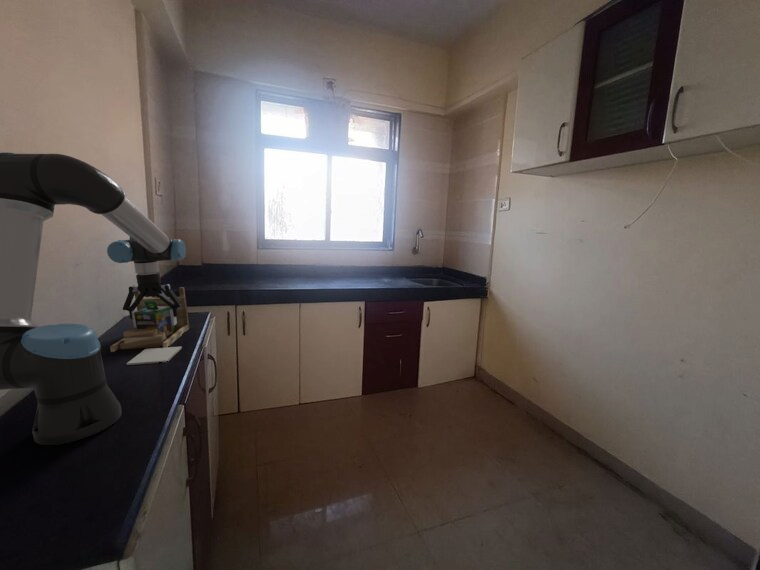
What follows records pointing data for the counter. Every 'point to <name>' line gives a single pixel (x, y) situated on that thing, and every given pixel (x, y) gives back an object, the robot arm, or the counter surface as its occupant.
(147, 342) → the offcut stack
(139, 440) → the counter surface
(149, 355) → the felt mat
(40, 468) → the counter surface
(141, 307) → the rack
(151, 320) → the chalk box
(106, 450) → the counter surface
